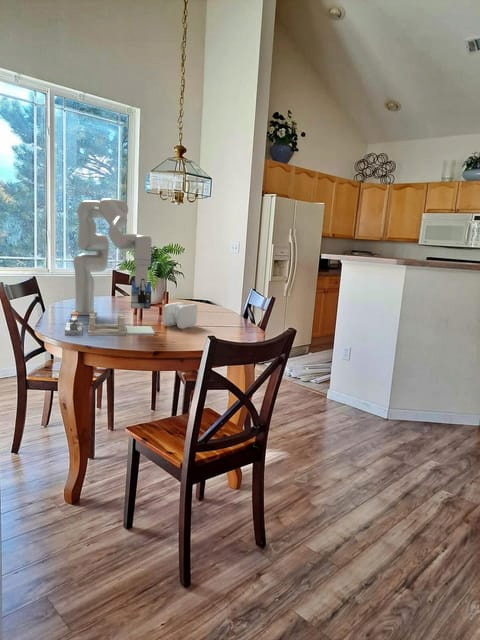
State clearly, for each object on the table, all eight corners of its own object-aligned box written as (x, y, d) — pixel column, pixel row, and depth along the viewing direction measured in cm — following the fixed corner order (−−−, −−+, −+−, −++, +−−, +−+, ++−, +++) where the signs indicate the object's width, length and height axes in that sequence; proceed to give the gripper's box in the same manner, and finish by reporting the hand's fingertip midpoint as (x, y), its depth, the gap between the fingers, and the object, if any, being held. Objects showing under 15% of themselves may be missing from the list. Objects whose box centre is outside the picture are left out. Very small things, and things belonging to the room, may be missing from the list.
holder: (88, 326, 212) (88, 312, 210) (123, 327, 217) (123, 312, 215) (88, 335, 197) (88, 319, 195) (125, 335, 202) (126, 319, 201)
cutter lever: (71, 320, 210) (71, 312, 209) (78, 320, 211) (78, 312, 210) (69, 327, 196) (69, 318, 195) (77, 327, 197) (77, 318, 196)
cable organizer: (178, 330, 220) (179, 307, 217) (161, 326, 225) (162, 303, 223) (196, 326, 232) (198, 304, 230) (180, 322, 237) (181, 301, 235)
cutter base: (66, 326, 208) (66, 318, 207) (82, 327, 210) (82, 318, 210) (64, 334, 194) (64, 325, 193) (82, 334, 196) (82, 325, 196)
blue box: (131, 308, 206) (131, 281, 204) (130, 307, 210) (131, 280, 208) (150, 309, 209) (151, 282, 207) (150, 307, 213) (151, 281, 210)
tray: (125, 327, 216) (125, 326, 216) (150, 327, 220) (150, 326, 220) (127, 334, 203) (127, 332, 203) (154, 334, 207) (154, 333, 207)
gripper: (132, 260, 212) (131, 299, 215) (135, 264, 196) (134, 305, 200) (148, 261, 214) (146, 299, 218) (152, 265, 199) (151, 305, 202)
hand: (140, 302), depth 209 cm, fingers closed on blue box, 4 cm apart
